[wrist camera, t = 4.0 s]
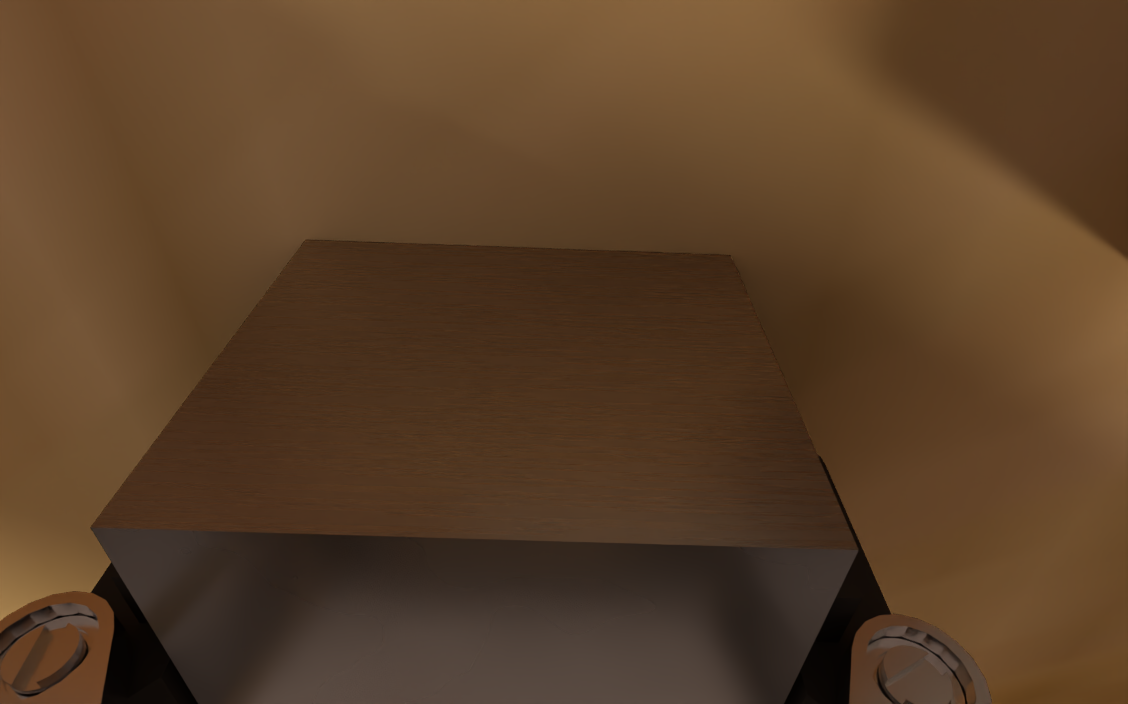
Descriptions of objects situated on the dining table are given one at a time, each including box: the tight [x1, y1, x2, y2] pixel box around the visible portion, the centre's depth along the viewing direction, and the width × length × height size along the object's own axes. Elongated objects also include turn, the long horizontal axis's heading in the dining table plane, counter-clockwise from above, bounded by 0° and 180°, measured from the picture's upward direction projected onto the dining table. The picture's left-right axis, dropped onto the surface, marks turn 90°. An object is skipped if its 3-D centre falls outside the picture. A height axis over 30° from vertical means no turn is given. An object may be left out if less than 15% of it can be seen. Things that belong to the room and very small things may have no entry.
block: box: [90, 240, 859, 704], centre depth 9 cm, size 6×6×5 cm
